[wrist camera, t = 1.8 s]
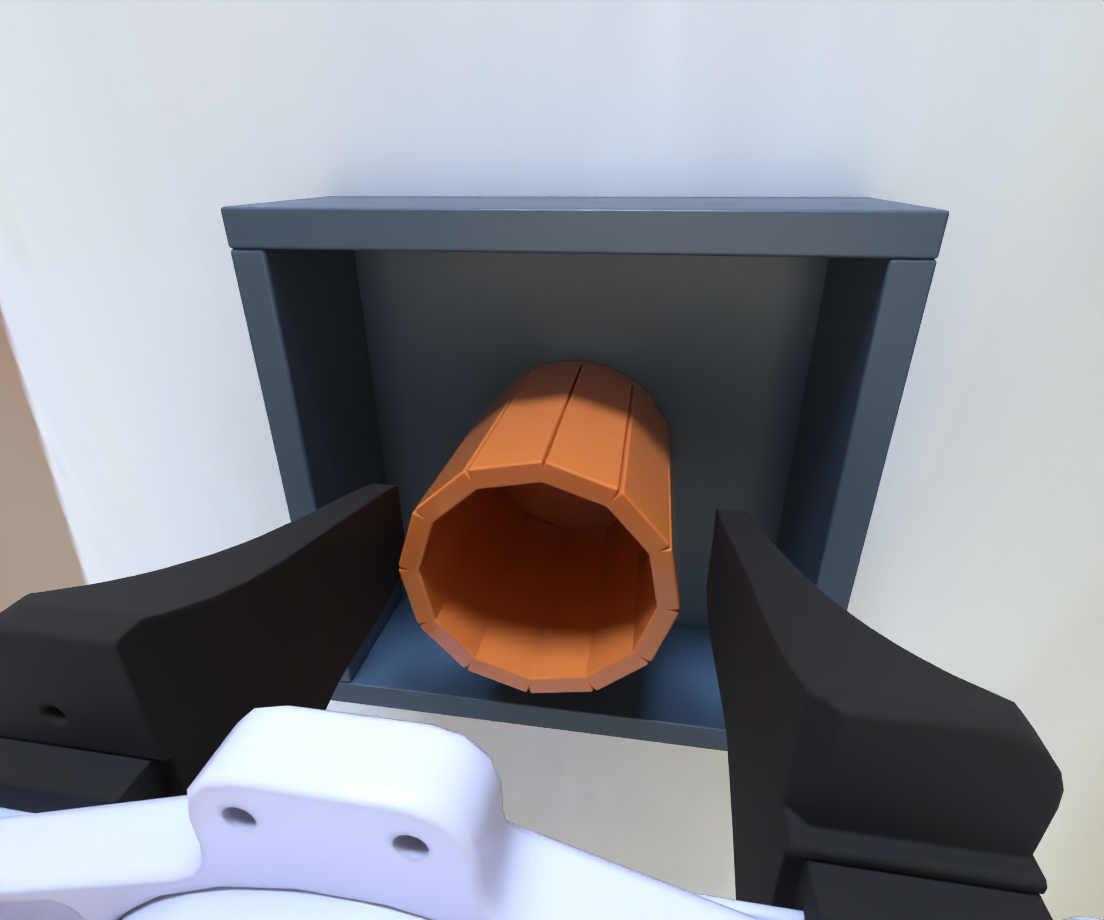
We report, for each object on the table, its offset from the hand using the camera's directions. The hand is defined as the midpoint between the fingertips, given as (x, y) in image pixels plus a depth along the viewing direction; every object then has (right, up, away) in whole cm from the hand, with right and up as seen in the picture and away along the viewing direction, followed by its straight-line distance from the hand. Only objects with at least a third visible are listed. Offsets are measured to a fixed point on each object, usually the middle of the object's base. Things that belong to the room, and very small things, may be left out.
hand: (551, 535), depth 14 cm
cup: (+1, +2, +4) cm, 5 cm away
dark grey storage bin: (+1, +2, +4) cm, 5 cm away
